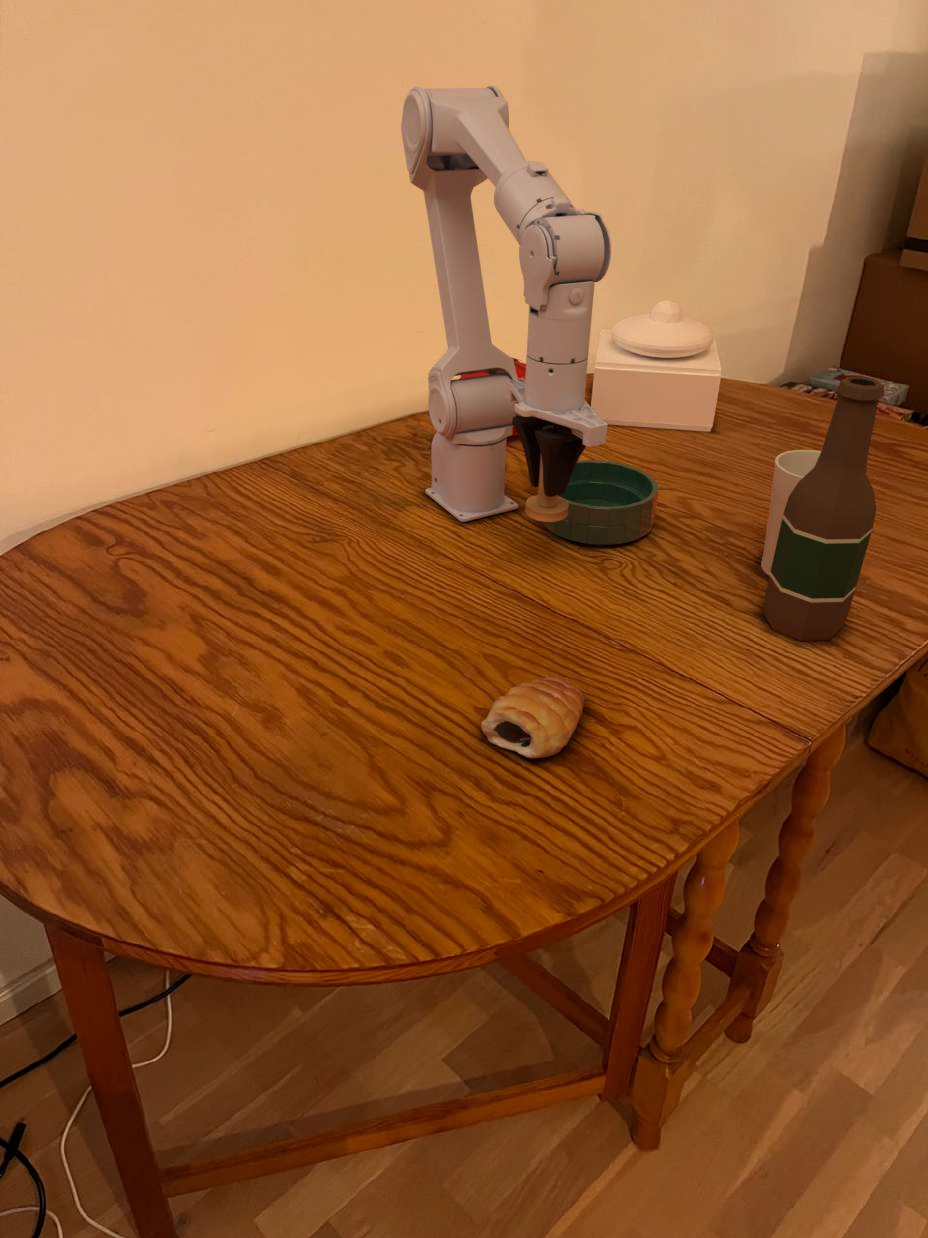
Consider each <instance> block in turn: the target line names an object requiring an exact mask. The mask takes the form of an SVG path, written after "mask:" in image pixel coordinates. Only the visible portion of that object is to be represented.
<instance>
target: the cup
mask: <svg viewBox="0 0 928 1238" xmlns="http://www.w3.org/2000/svg"><path fill="white" fill-rule="evenodd" d="M821 451H822V450H813V449H794V450H787V451H784V452H781V453H780V454H778V455H777V456H775V459H774V465H773V466H774V467H773V476H772V484H771V493H770V500H769V508H768V513H767V514H768V515H767V522H766V523H767V524H766V530H765V531H766V532H765V538H764V546H763V553H762V558H761V563H760V567H761V569H762V571H763V572H764V573H765V574H766V575H767V576H768V577H769V576H770V571H771V567H772V562H773V558H774V553H775V549H776V544H777V540H778V535H779V531H780V526H781V522H782V517H783V513H784V510H785V507H786V504H787V501H788V497H789V495H790V494H791V492H792V491H793V489H794V488H795V486H796V485H797V483H798V482H799V481H800V480H801V479H802V478H803V477H804V476H805V475H806V474H808V473H809V472H810V471H811V470H812V469H813V468H814V467H815V465H816V462H817V460H818V458H819V456H820V454H821Z"/></svg>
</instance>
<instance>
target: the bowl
mask: <svg viewBox="0 0 928 1238" xmlns="http://www.w3.org/2000/svg"><path fill="white" fill-rule="evenodd" d="M658 495H659V487H658V482H657V481H656V480H655V479H654V478H653V477H652V476H651V475H650V474H649V473H647V472H645V471H644V470H641V469H639V468H637V467H634V466H631V465H628V464H624V463H619V462H614V461H608V460H597V459H596V460H593V459H590V460H589V459H588V460H578V461H577V463H576V465H575V467H574V470H573V472H572V475H571V478H570V480H569V483H568V486H567V489H566V491H565V494H561V495H558V496H559V497H562V498H564V499H565V500H566V501H567V502H568V504H569V509H568V515H567V517H566V518H564V519H562V520H560V521H555V522H542V521H540V522H541V524H542V526H543V527H544V528H545V529H546V530H548V531H550V532H551V533H552V534H554V535H556V536H557V537H560V538H563V539H565V540H568V541H571V542H574V543H578V544H584V545H588V546H589V545H590V546H614V545H616V546H617V545H621V544H626V543H629V542H634V541H637V540H639V539H641V538H643V537H644V536H646V535H647V534H649V533H650V531H651V530H652V528H653V527H654V525H655V517H656V510H657V504H658V503H657V502H658Z"/></svg>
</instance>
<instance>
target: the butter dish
mask: <svg viewBox="0 0 928 1238" xmlns="http://www.w3.org/2000/svg"><path fill="white" fill-rule="evenodd" d="M722 371H723V369H722V365H721V361H720V356H719V352H718V348H717V343H716V338H715V335H714V334H713V331H711V328H709V327H707V326H706V325H705V324H704V323H702V322H699V321H698V320H695V319H693V318H690V317H686V316H684V313H683V309H682V308H681V306H679V304H678V303H676V302H674V301H671V300H661V301H658V303H657V304H655V305H654V306H653V307H652V308H651V311H650V313H643V314H642V313H641V314H637V315H631V316H628V317H626V318H623V319H621V320H619V321H617V322H616V323H615V324H614V325H613V326H612V328H611V329H606V328H601V329H600V333H599V336H598V342H597V348H596V356H595V362H594V369H593V379H592V391H591V401H590V407H591V409H592V410H593V411H594V412H595V414H596V415H597V416H598V417H599V419H601V420H602V421H603V422H605V423H607V424H608V425H612V426H625V427H639V428H650V429H651V428H653V429H665V430H666V429H667V430H680V431H693V432H694V431H695V432H706V433H707V432H710V433H711V431H712V428H713V426H714V421H715V415H716V409H717V404H718V397H719V391H720V386H721V385H720V384H721V380H722Z"/></svg>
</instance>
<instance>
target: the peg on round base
mask: <svg viewBox="0 0 928 1238" xmlns="http://www.w3.org/2000/svg"><path fill="white" fill-rule="evenodd" d="M551 427H552V428H553V425H550V426H545V427H543V428H542V429H546V428H551ZM537 488H538V489H537V494H535V495H532V496H529V498H527V499H526V500H525V505H524V506H525V509H524V513H525V515H526V516H527V517H528V518H530V519H531V520H534V521H538V522H541V521H542V522H555V521H560V520H562V519H564V518H566V517H567V515H568V509H569V504H568V502H567V501H566V500H565V499H564V498H562V497H559V496H558V495H556V496H552V497H548V496H546V495H545V492H544V487H543V463H542V456H541V455H540V471H539V486H538V487H537ZM542 522H541V523H542Z"/></svg>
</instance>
